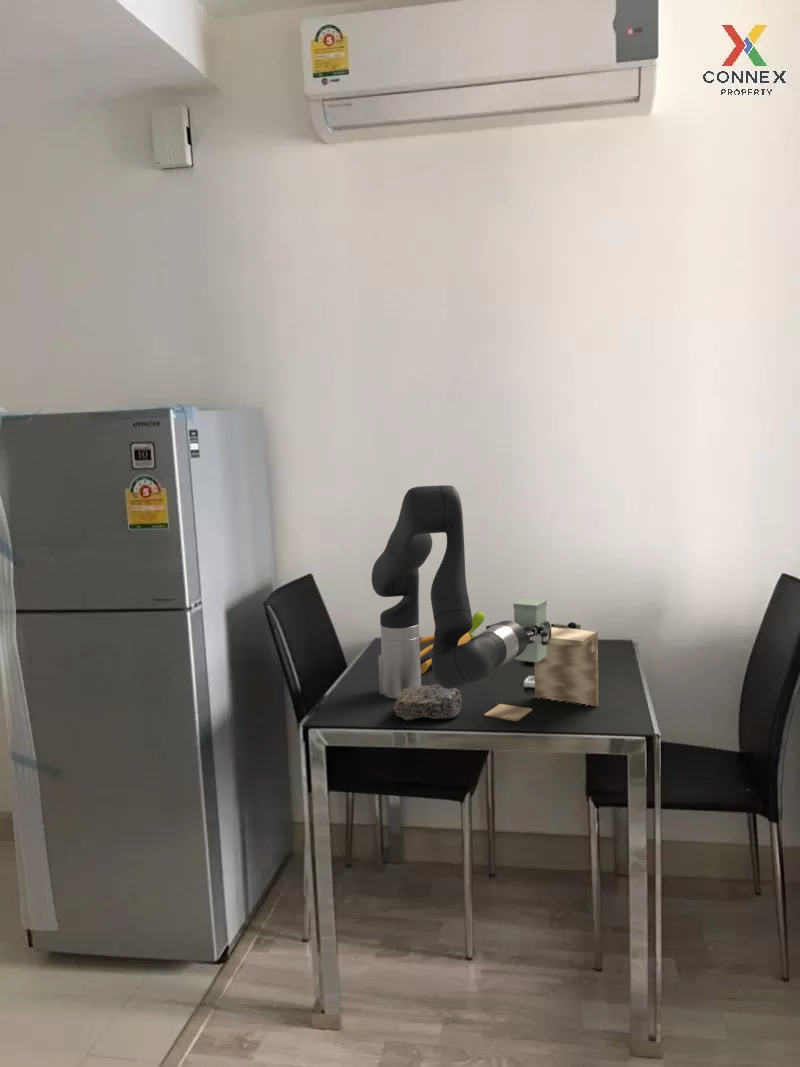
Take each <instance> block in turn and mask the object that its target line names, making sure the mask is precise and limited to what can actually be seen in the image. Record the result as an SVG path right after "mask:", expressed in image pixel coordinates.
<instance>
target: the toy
mask: <svg viewBox="0 0 800 1067" xmlns="http://www.w3.org/2000/svg"><path fill="white" fill-rule="evenodd" d="M485 618H486V616H485V613H484V612H482V611H479V610H477V611H476V612H475V613H474V615H472V620H473V626H472V629H471V630H470V631H469V632H468V633H466V634H465V635H464V636H462V637H461V638H460V640H459V642H458V646H459V645H461V644H464V643H467V642H468V641H469V640H470V639H472V638H473V637H475V636H476V634H475V635H474V634H472V633H474V632H475V631H476V630H477V629H478V628H479V627H480V626H481V625H482V624H483V622H484V620H485ZM432 641H433V642H434V634H432V635H426V636H424V637H422V638H420V644H427V643H431V642H432ZM431 651H433V643H432V644H430V645H428V646H427V647H425V648H424V649H422V650H420V660H421V658H423V657H424V656H425V655H427V654H428V653H429V652H431ZM420 666H421V675H424V674H425V672H426V671H427V670H428V669H429V667H431V666H432V657H431V658H430V659H429V658H428V659H427V660H426V661H424V662H422V664H420Z"/></svg>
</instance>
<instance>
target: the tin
mask: <svg viewBox="0 0 800 1067" xmlns="http://www.w3.org/2000/svg"><path fill="white" fill-rule="evenodd" d="M512 604H513V613H514V614H513V618H514V620H513V622H516V623H517V624H519V625H520V626H522V625H523V626H527V625H531V624H533V625H540V624H542V623H544V622H545V621H547V600H543V599H534V598H533V599H531V598H522V599H520V600H518V601H516V602H513V603H512ZM530 630H531V629H530ZM538 634H539V631H537V635H538ZM546 656H547V647H546V645H542V644H541V643H540V641H536V642H534V643H532V644H528V645H527V647H526V648H525V650H524V652H523V653H522V654H520V655H519V656H517V657H516V658H514V659H515V660H517V661H524V662H529V661H530V662H538V661H540V660H542V659H543V658H545V657H546ZM530 662H529V663H530Z"/></svg>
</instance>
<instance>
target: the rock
mask: <svg viewBox="0 0 800 1067" xmlns="http://www.w3.org/2000/svg"><path fill="white" fill-rule="evenodd" d="M461 694H462V693H461V691H460V690H459V689H458V687H456V688H453V689H447V688H444V687H442V686H441V685H440V684H431V685H426V684H422V685H421V686H420V687H410V688H407V689H404V691H402V692H401V693H400V694H399V696H398V699H396V701H395V703H394V704H393V706H392V711H393V712H394V713H395V714H396V715H395V716H397V717H399V718H402V719H404V721H413V720H416V719H420V718H428V719H433V720H436V719H444V720H446V719H453V718H455V717H457V716H458V715H459V713H460V712H461V710H462V708H463V705H462V704H463V701H462V695H461Z"/></svg>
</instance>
